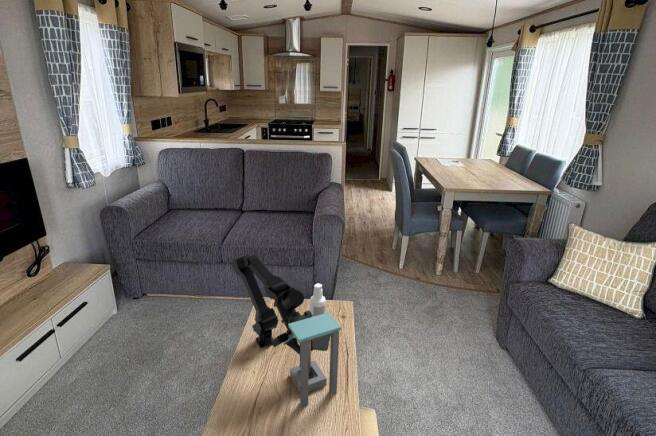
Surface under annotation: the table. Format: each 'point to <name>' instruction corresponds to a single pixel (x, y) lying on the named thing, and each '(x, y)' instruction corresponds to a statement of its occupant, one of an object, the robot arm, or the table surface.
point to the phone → (321, 342)
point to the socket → (313, 383)
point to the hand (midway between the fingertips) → (307, 353)
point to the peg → (309, 355)
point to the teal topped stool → (303, 333)
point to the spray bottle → (317, 301)
